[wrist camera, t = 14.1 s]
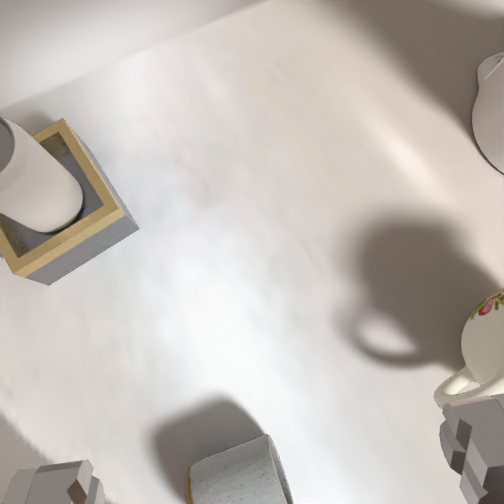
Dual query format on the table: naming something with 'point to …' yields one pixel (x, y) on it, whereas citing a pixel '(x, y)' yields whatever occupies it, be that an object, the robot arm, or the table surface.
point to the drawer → (80, 229)
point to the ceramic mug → (239, 476)
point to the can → (34, 183)
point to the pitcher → (479, 354)
